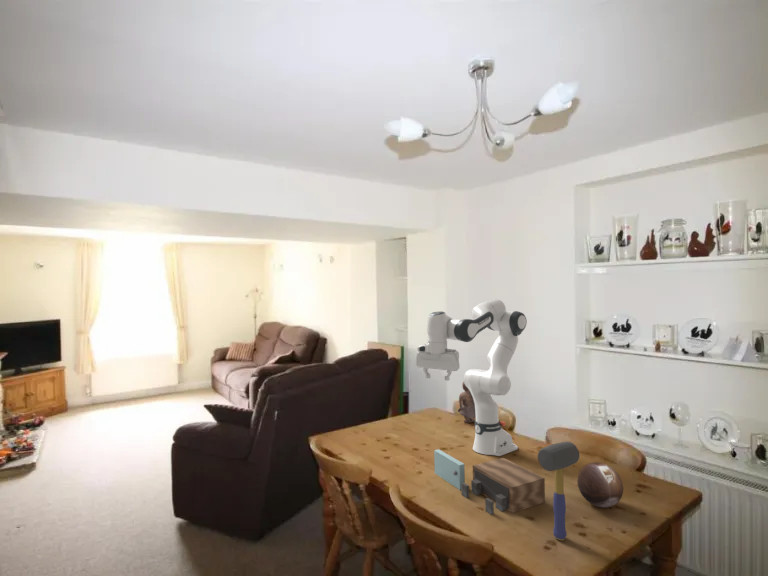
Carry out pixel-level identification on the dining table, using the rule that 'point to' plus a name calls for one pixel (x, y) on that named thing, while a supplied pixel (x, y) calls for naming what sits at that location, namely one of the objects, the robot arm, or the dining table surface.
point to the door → (449, 468)
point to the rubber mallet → (558, 479)
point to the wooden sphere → (600, 484)
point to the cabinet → (506, 486)
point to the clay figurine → (467, 405)
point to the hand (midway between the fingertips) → (437, 379)
